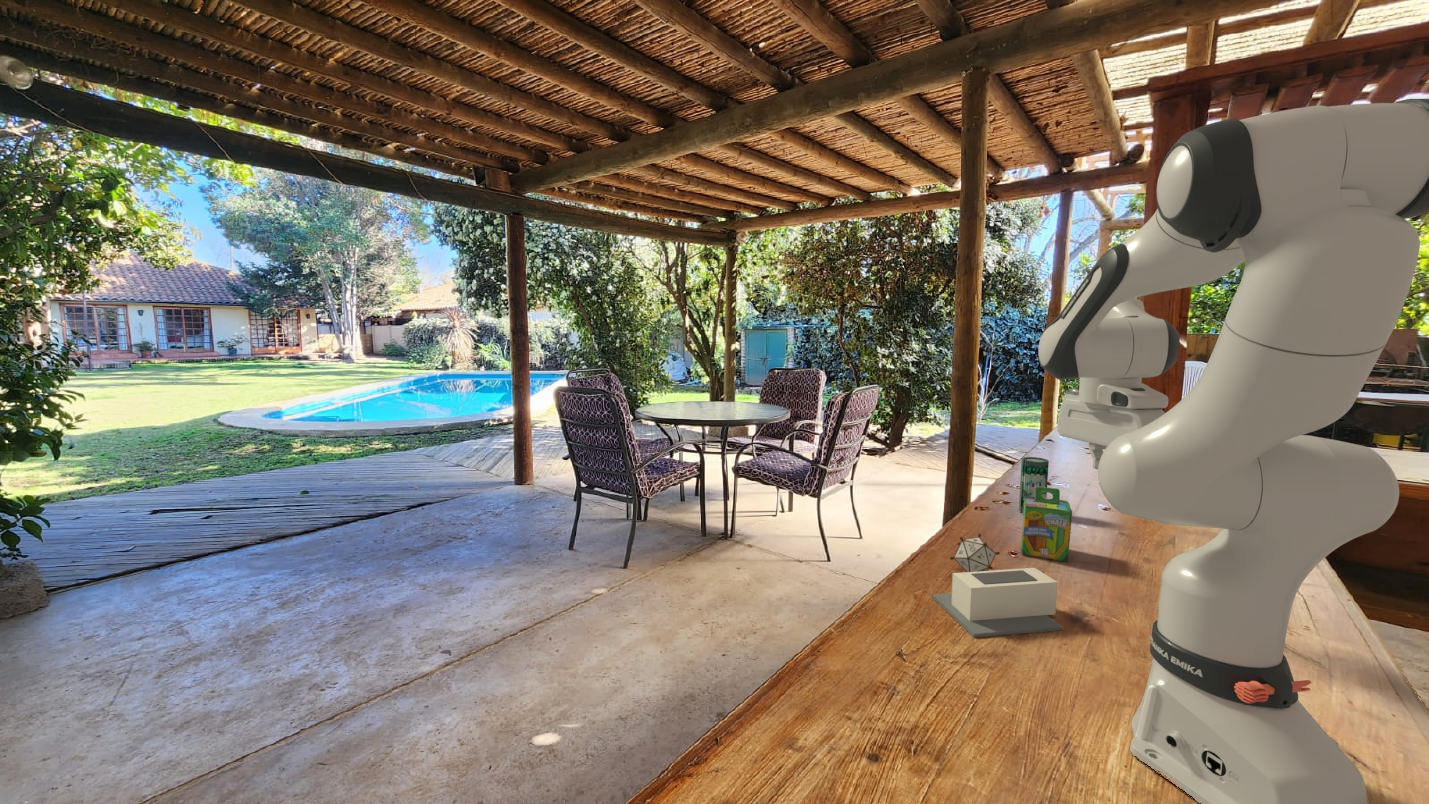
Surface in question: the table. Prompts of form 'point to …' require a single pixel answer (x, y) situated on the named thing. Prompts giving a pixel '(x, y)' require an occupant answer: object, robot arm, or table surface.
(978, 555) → the game die
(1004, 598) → the cream block
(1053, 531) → the chalk box
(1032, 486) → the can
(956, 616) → the rubber mat
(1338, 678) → the table surface
